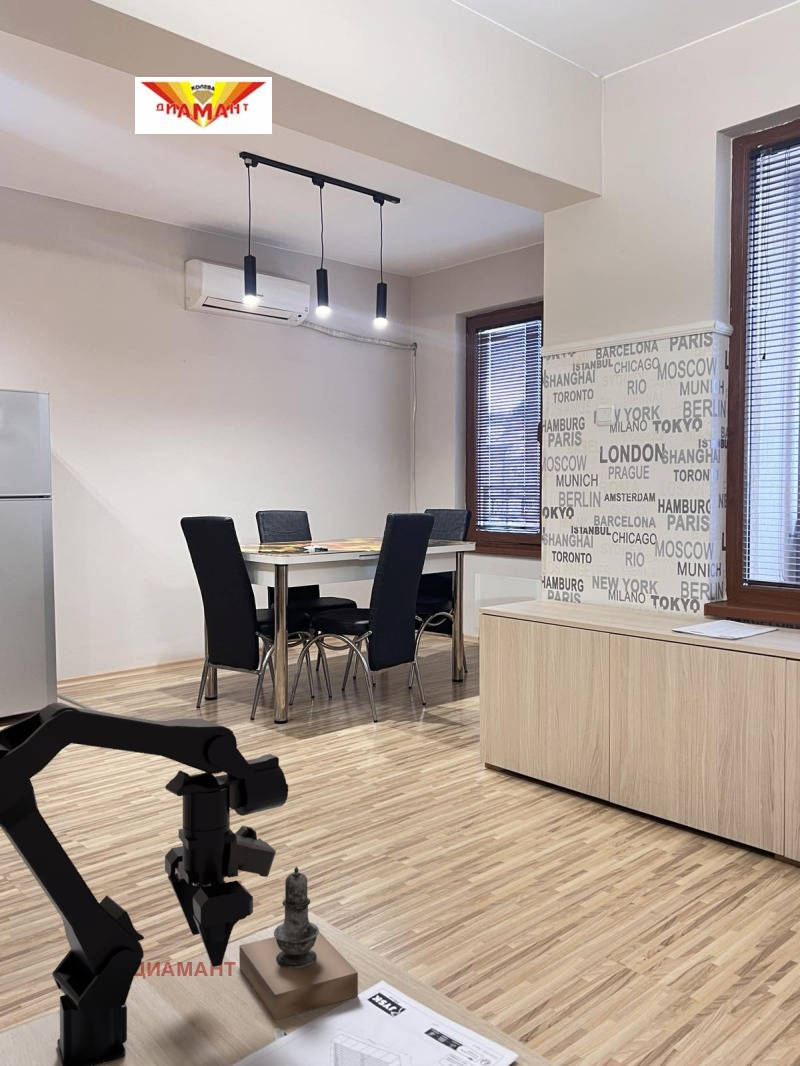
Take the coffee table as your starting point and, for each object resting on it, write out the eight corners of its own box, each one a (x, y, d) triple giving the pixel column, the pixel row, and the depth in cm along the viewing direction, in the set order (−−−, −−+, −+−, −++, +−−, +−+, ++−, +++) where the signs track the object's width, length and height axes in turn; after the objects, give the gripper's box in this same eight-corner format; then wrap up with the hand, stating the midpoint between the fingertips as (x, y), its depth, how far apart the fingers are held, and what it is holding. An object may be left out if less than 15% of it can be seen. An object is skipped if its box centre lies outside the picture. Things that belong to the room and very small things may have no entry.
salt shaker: (269, 951, 113) (269, 861, 113) (313, 944, 115) (313, 855, 115) (278, 973, 108) (278, 878, 108) (323, 965, 110) (323, 872, 110)
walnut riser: (275, 1019, 103) (275, 994, 103) (239, 967, 115) (239, 945, 115) (357, 996, 108) (357, 972, 108) (315, 948, 120) (315, 927, 120)
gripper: (294, 836, 101) (294, 967, 101) (245, 793, 118) (245, 906, 118) (201, 852, 96) (201, 991, 96) (163, 806, 113) (163, 924, 113)
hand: (206, 949), depth 106 cm, fingers open, 9 cm apart
